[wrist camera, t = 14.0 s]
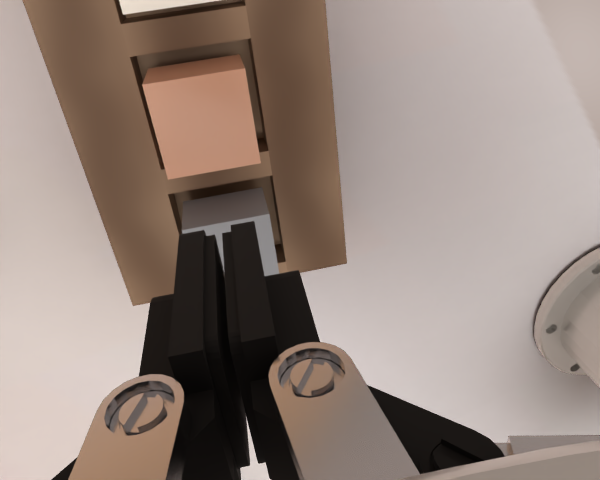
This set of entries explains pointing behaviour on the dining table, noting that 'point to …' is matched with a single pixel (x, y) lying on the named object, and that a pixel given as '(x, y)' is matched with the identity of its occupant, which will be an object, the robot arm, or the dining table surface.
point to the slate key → (233, 220)
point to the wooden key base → (142, 139)
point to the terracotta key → (202, 116)
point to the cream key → (155, 4)
